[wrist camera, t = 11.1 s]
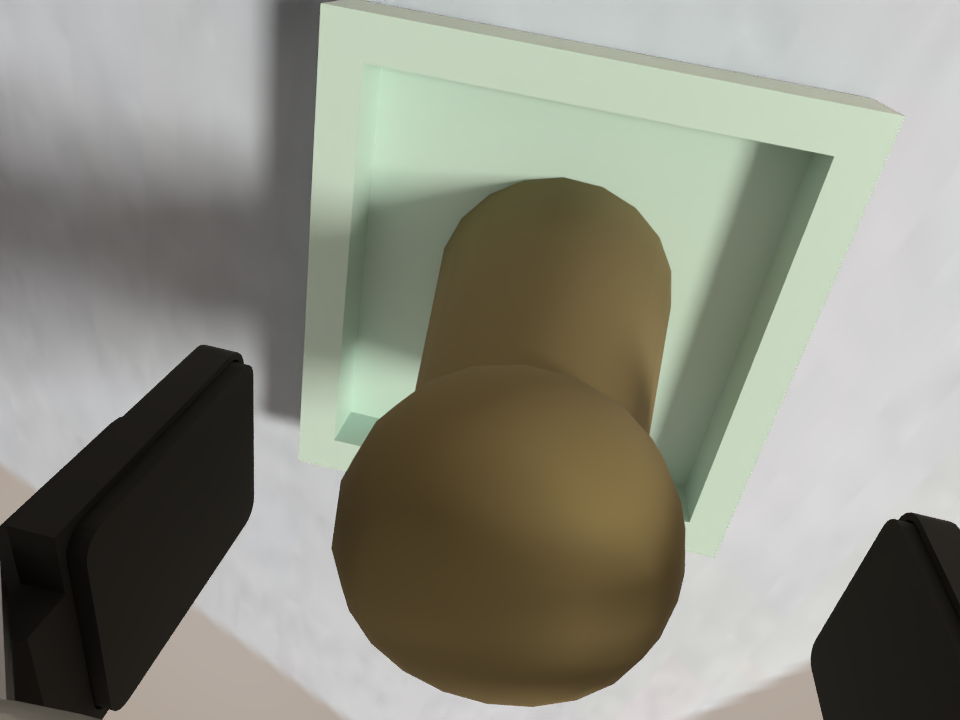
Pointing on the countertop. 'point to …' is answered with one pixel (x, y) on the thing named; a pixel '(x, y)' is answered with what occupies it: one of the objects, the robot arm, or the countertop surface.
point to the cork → (524, 460)
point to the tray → (591, 159)
